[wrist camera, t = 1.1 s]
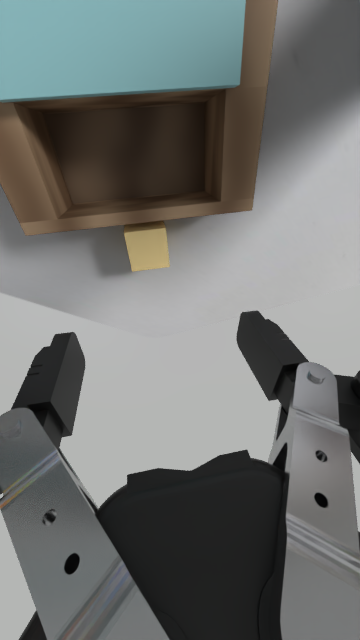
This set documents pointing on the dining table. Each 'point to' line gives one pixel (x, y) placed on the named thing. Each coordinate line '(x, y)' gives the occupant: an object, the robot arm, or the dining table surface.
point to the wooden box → (139, 149)
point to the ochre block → (147, 245)
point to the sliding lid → (118, 47)
